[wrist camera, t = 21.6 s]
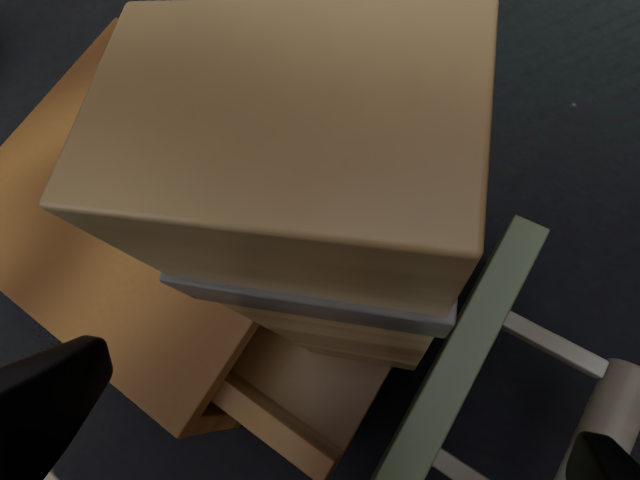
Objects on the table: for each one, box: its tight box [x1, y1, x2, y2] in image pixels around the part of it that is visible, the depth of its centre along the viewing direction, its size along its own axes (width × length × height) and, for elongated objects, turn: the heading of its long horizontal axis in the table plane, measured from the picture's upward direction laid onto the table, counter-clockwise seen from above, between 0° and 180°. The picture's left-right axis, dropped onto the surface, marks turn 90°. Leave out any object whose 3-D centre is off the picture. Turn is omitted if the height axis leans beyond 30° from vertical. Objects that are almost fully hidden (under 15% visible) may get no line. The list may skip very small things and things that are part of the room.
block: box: [39, 0, 499, 370], centre depth 10 cm, size 3×4×14 cm, turn 79°
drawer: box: [211, 215, 640, 480], centre depth 16 cm, size 18×11×4 cm, turn 58°
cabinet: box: [0, 18, 260, 439], centre depth 19 cm, size 14×12×5 cm
